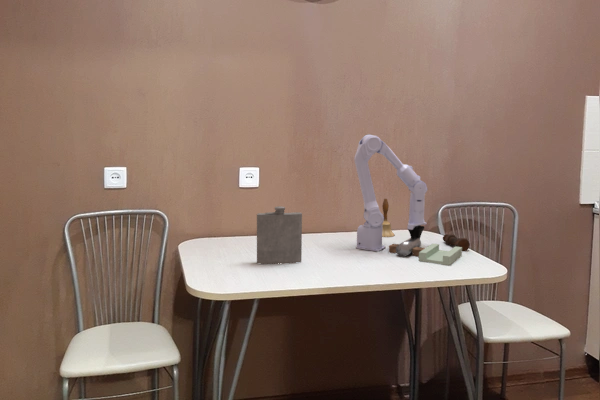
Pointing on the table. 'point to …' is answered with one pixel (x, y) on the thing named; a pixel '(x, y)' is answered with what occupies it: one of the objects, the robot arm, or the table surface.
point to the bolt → (457, 241)
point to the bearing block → (414, 253)
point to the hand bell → (386, 225)
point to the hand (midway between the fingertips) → (415, 244)
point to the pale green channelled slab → (439, 255)
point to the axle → (408, 246)
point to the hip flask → (279, 237)
